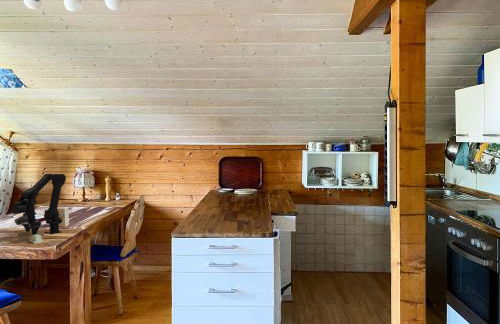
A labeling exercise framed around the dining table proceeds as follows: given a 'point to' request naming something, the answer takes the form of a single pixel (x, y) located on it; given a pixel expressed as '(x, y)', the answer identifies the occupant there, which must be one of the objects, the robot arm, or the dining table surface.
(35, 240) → the fulcrum
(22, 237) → the brown rectangular block
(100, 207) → the dining table surface
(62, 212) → the supplement box
